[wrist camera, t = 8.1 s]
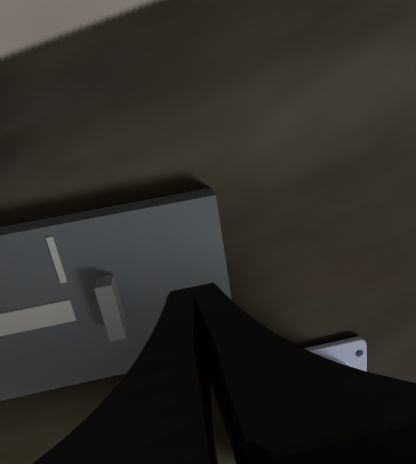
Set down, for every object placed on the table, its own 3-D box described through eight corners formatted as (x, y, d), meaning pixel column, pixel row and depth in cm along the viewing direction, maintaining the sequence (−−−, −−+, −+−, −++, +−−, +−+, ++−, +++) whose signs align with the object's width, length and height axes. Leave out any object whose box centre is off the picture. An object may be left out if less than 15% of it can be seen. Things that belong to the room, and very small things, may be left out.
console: (233, 333, 23) (243, 362, 21) (-154, 416, 22) (-194, 459, 19) (211, 187, 20) (220, 201, 18) (-247, 272, 18) (-309, 302, 16)
